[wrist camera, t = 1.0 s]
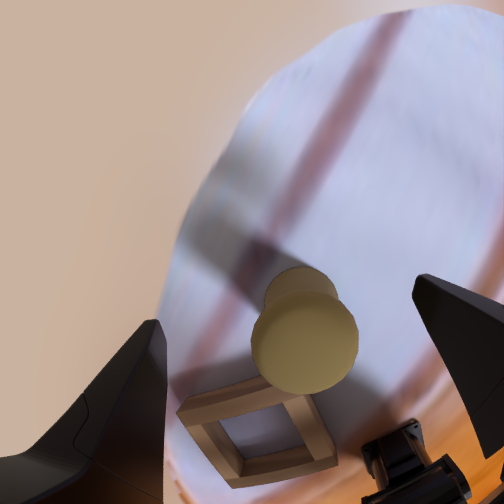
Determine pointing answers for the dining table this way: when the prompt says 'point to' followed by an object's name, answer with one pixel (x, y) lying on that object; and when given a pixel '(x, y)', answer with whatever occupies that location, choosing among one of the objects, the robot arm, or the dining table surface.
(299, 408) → the socket block
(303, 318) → the cork
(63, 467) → the robot arm
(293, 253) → the dining table surface
